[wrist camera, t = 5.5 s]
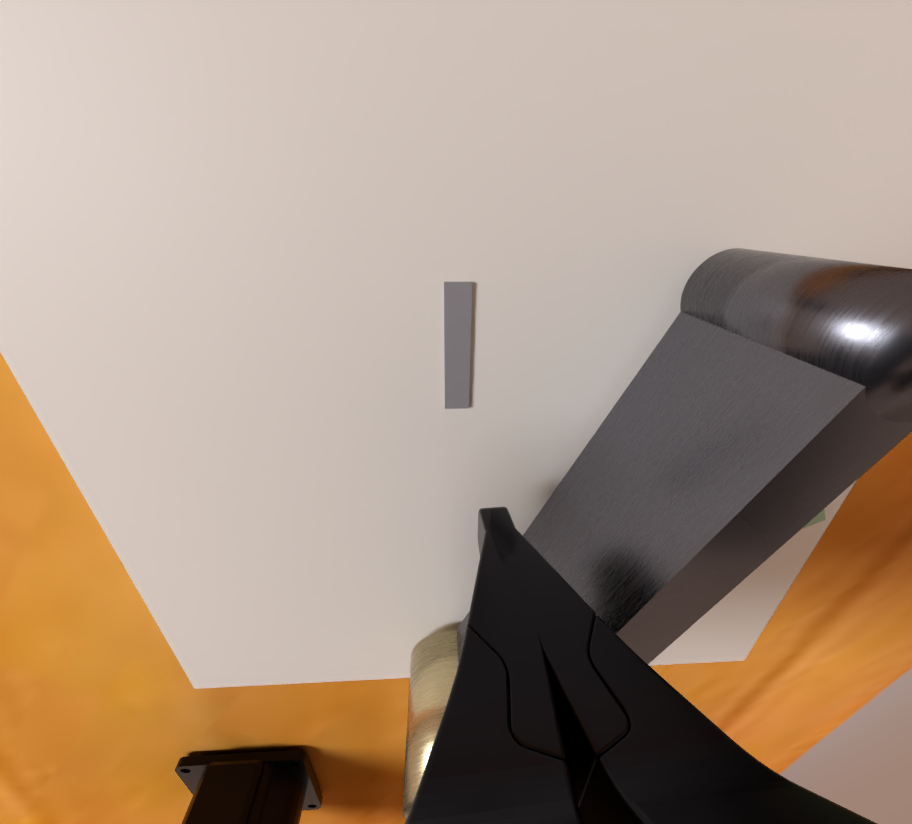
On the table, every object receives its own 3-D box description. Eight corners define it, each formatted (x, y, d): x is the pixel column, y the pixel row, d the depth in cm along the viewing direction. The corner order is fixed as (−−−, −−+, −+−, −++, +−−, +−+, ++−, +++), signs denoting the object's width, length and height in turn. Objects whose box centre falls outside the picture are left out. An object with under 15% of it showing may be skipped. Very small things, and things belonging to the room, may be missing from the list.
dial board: (719, 625, 17) (745, 663, 16) (214, 649, 16) (193, 691, 15) (1048, 11, 8) (1186, -34, 6) (-119, -33, 7) (-269, -100, 5)
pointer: (475, 687, 15) (488, 834, 11) (398, 672, 14) (385, 825, 11) (808, 284, 8) (1095, 342, 5) (694, 216, 7) (932, 221, 4)
